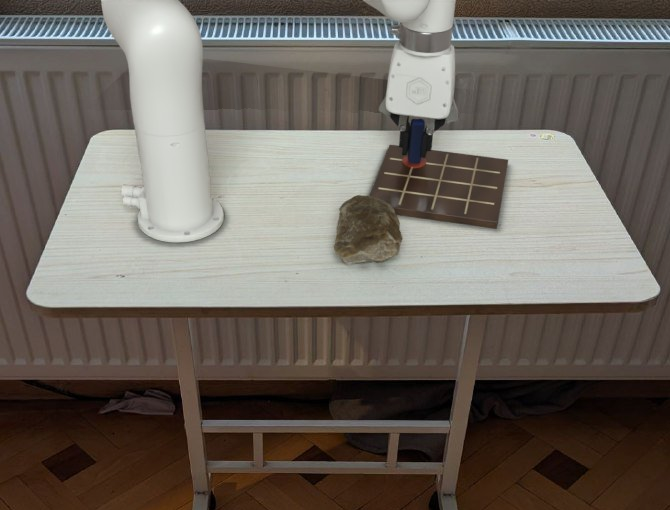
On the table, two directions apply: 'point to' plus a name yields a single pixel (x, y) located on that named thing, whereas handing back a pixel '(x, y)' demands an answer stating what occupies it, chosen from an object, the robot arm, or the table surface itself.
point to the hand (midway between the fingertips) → (414, 151)
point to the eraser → (415, 140)
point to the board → (443, 186)
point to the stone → (367, 231)
